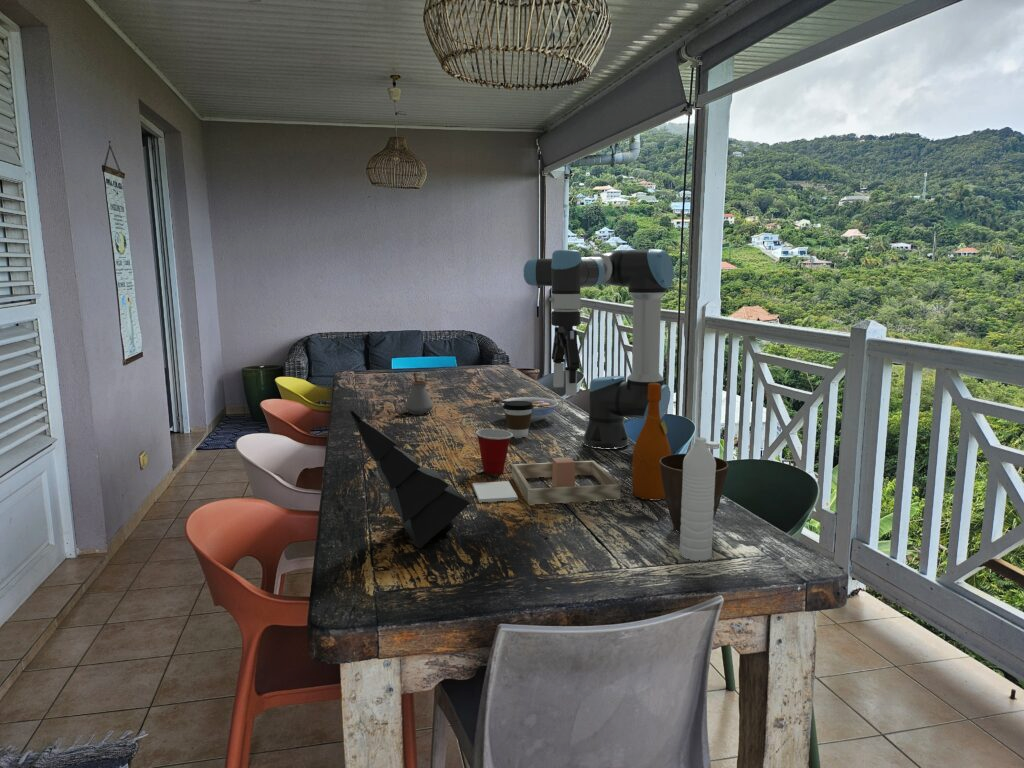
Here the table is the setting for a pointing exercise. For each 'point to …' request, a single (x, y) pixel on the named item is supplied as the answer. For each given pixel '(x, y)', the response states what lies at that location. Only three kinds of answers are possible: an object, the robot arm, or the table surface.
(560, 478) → the block
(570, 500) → the frame
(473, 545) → the table surface
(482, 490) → the pad
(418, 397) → the coffee pot
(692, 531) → the water bottle
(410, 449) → the table surface
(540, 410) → the ramen bowl
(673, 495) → the plant pot
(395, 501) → the decorative tree
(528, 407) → the coffee cup
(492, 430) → the plastic cup
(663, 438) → the wine bottle
